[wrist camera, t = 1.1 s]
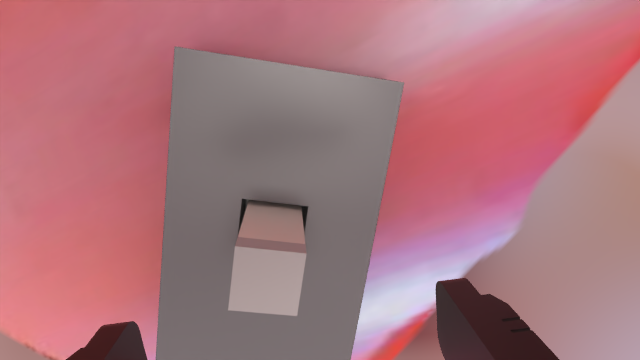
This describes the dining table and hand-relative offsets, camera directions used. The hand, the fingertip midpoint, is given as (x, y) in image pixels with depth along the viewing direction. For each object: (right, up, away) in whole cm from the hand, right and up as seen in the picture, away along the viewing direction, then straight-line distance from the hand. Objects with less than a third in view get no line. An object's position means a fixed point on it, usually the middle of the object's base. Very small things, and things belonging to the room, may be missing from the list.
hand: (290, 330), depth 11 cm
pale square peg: (-3, +1, +20) cm, 20 cm away
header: (-3, +2, +21) cm, 21 cm away
